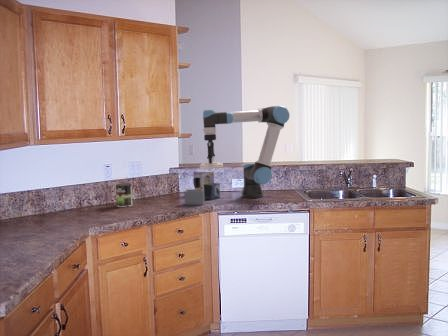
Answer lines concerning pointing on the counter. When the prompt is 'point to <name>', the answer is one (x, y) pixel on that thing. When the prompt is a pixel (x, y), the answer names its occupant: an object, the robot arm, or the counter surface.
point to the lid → (215, 165)
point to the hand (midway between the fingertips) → (211, 167)
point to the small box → (211, 191)
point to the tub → (194, 197)
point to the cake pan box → (202, 178)
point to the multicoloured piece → (124, 195)
